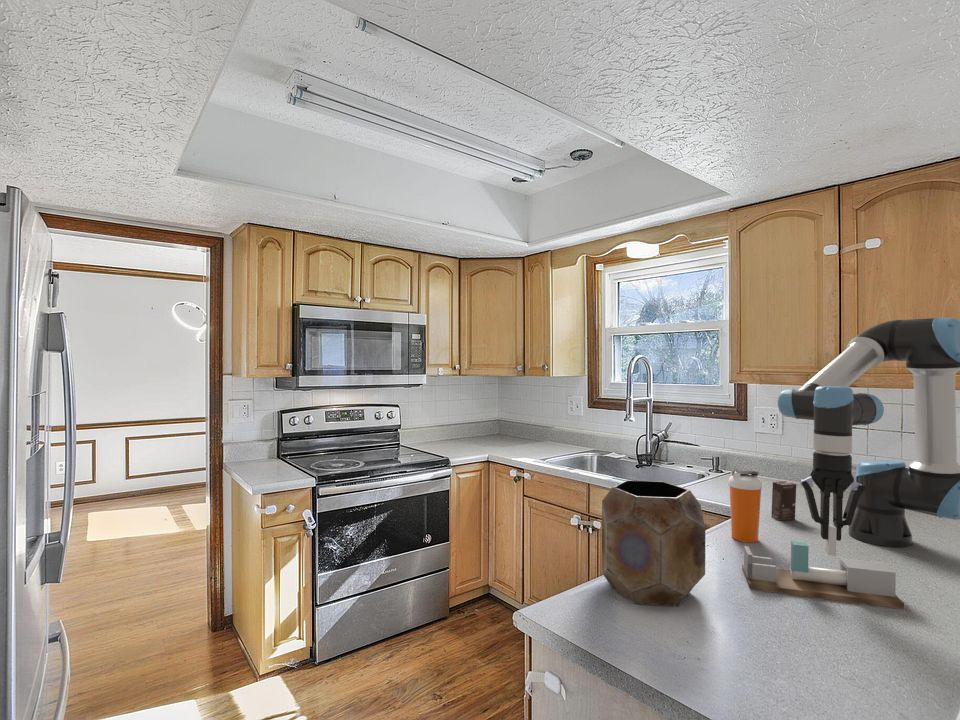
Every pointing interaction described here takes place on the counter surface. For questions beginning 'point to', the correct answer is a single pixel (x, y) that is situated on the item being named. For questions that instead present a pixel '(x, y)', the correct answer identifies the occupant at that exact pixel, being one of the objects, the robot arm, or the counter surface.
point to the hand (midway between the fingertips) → (830, 553)
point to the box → (783, 500)
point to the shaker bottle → (745, 505)
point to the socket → (758, 567)
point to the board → (820, 590)
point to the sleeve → (869, 577)
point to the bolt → (811, 573)
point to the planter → (652, 542)
